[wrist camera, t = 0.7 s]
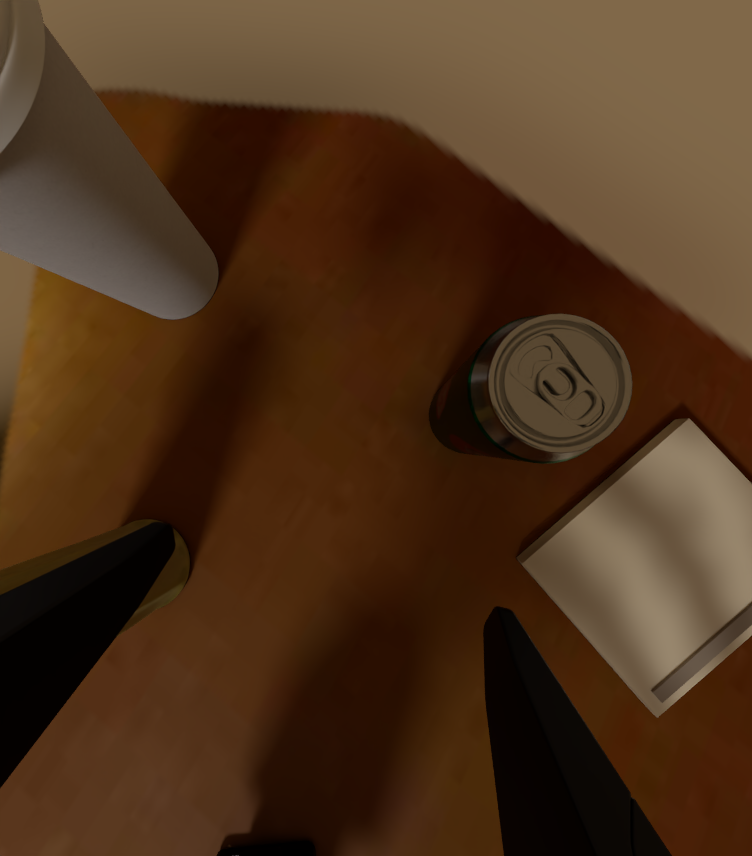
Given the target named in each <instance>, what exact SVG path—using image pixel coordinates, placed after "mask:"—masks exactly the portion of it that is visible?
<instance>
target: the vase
mask: <svg viewBox="0 0 752 856" xmlns="http://www.w3.org/2000/svg"><path fill="white" fill-rule="evenodd" d="M157 521H158V520H151V519H143V520H137V521H133V522H130V523H129V524H127V525H125V526H123V527H120V528H117V529H114V530H111V531H109V532H106V533H103V534H100V535H98V536H95V537H92V538H90V539H87V540H84V541H82V542H79V543H76V544H73V545H70V546H67V547H64V548H61V549H58V550H56V551H53V552H50V553H47V554H44V555H41V556H38V557H35V558H33V559H30V560H27V561H24V562H21V563H19V564H16V565H13V566H10V567H7V568H5V569H2V570H0V595H1V594H3V593H5V592H8V591H10V590H12V589H14V588H16V587H18V586H20V585H22V584H24V583H26V582H29V581H31V580H33V579H35V578H37V577H39V576H41V575H43V574H45V573H48V572H50V571H52V570H54V569H56V568H58V567H60V566H62V565H64V564H66V563H69V562H71V561H73V560H75V559H77V558H79V557H81V556H83V555H85V554H87V553H90V552H92V551H94V550H96V549H98V548H100V547H102V546H104V545H106V544H109V543H111V542H113V541H115V540H117V539H119V538H121V537H123V536H125V535H127V534H130V533H132V532H134V531H136V530H138V529H140V528H142V527H144V526H146V525H148V524H151V523H153V522H157ZM158 522H161V521H158ZM163 523H164V522H163ZM173 532H174V537H175V543H176V546H175V550H174V552H173V554H172V556H171V557H170V559H169V561H168V562H167V564H166V565H165V567H164V568H163V570H162V572H161V573H160V575H159V576H158V578H157V579H156V581H155V583H154V584H153V586H152V587H151V589H150V590H149V592H148V594H147V595H146V597H145V598H144V600H143V601H142V603H141V604H140V606H139V607H138V609H137V610H136V611H135V613H134V614H133V615H132V617H131V618H130V619H129V621H128V622H127V623H126V625H125V626H124V627H123V629H122V630H121V631H120V633H119V634H118V635H120V634H121V633H123V632H124V631H126V630H128V629H129V628H131V627H132V626H134V625H135V624H136V623H138V622H139V621H141V620H142V619H143V618H145V617H146V616H148V615H149V614H150V613H152V612H153V611H154V610H156V609H158V608H160V607H163V606H165V605H167V604H168V603H169V602H171V601H172V600H173V599H174V598H175V597H176V596H177V595H178V594H179V593H180V592H181V590H182V589H183V587H184V585H185V583H186V581H187V579H188V575H189V569H190V557H189V552H188V548H187V546H186V543H185V541H184V540H183V538H182V537H181V535H180V534H179V533H178V532H177V531H176V530H175V529H174V528H173ZM118 635H117V636H118ZM117 636H116V637H117Z"/></svg>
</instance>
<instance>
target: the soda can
mask: <svg viewBox="0 0 752 856" xmlns="http://www.w3.org/2000/svg"><path fill="white" fill-rule="evenodd" d="M631 394H632V375H631V370H630V366H629V362H628V360H627V358H626V355H625V353H624V351H623V350H622V348H621V347H620V345H619V343H618V342H617V341H616V340H615V339H614V338H613V337H612V335H611V334H609V333H608V332H607V331H606V330H605V329H603V328H602V327H601V326H599V325H597V324H596V323H594V322H592V321H590V320H587V319H585V318H582V317H579V316H575V315H569V314H549V315H541V316H530V317H525V318H520V319H518V320H515V321H512V322H510V323H508V324H506V325H504V326H503V327H501V328H499V329H498V330H497V331H495V332H494V333H493V334H491V335H490V336H489V337H488V338H487V339H486V341H485V342H484V343H483V344H482V345H481V346H480V347H479V348H478V349H477V350H476V351H475V352H474V353H473V354H472V355H471V356H470V357H469V359H468V360H467V361H466V362H465V363H464V364H463V365H462V366H461V367H460V368H459V369H458V370H457V371H456V372H455V373H454V374H453V375H452V377H451V378H450V379H449V380H448V381H447V382H446V383H445V384H444V385H443V386H442V387H441V388H440V389H439V390H438V391H437V393H436V394H435V396H434V397H433V400H432V402H431V405H430V409H429V421H430V426H431V429H432V431H433V433H434V435H435V437H436V438H437V439H438V440H439V442H441V443H442V444H443V445H444V446H445V447H447V448H448V449H450V450H453V451H455V452H458V453H464V454H472V455H479V456H487V457H494V458H502V459H509V460H517V461H524V462H532V463H541V464H544V463H557V462H562V461H567V460H569V459H572V458H575V457H577V456H579V455H581V454H583V453H585V452H586V451H588V450H589V449H590V448H592V447H593V446H594V445H596V444H597V443H599V442H601V441H603V440H604V439H605V438H606V437H608V436H609V435H610V434H611V433H612V432H613V431H614V430H615V429H616V428H617V427H618V425H619V424H620V422H621V421H622V419H623V418H624V416H625V414H626V411H627V409H628V407H629V403H630V399H631Z"/></svg>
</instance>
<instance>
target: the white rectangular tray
mask: <svg viewBox="0 0 752 856" xmlns="http://www.w3.org/2000/svg"><path fill="white" fill-rule="evenodd" d="M516 559H517V560H518V561H519V562H520V563H521V565H522V566H523V567H524V568H525V569H526V570H527V571H528V573H529V574H530V575H531V576H532V577H533V578H534V579H535V581H536V582H537V583H538V584H539V585H540V586H541V587H542V589H543V590H544V591H545V592H546V593H547V594H548V595H549V596H550V598H551V599H552V600H553V601H554V602H555V603H556V604H557V606H558V607H559V608H560V609H561V610H562V611H563V612H564V614H565V615H566V616H567V617H568V618H569V619H570V620H571V622H572V623H573V624H574V625H575V626H576V627H577V628H578V630H579V631H580V632H581V633H582V634H583V635H584V636H585V638H586V639H587V640H588V641H589V642H590V643H591V644H592V646H593V647H594V648H595V649H596V650H597V651H598V652H599V654H600V655H601V656H602V657H603V658H604V659H605V660H606V662H607V663H608V664H609V665H610V666H611V667H612V668H613V670H614V671H615V672H616V673H617V674H618V675H619V676H620V678H621V679H622V680H623V681H624V682H625V683H626V684H627V686H628V687H629V688H630V689H631V690H632V691H633V692H634V694H635V695H636V696H637V697H638V698H639V699H640V700H641V702H642V703H643V704H644V705H645V706H646V707H647V708H648V709H649V710H650V711H651V712H652V713H653V714H654V715H655V716H656V717H657V718H658V717H659V716H660V715H661V714H662V713H663V712H665V711H666V710H667V709H668V708H669V707H670V706H671V705H673V704H674V703H675V702H676V701H677V700H678V699H679V698H681V697H682V696H683V695H684V694H685V693H686V692H687V691H689V690H690V689H691V688H692V687H693V686H694V685H695V684H697V683H698V682H699V681H700V680H701V679H702V678H703V677H705V676H706V675H707V674H708V673H709V672H710V671H711V670H713V669H714V668H715V667H716V666H717V665H718V664H719V663H721V662H722V661H723V660H724V659H725V658H726V657H727V656H729V655H730V654H731V653H732V652H733V651H734V650H735V649H737V648H738V647H739V646H740V645H741V644H742V643H743V642H745V641H746V640H747V639H748V638H749V637H750V636H751V635H752V484H751V483H750V481H749V480H748V479H747V478H746V477H745V476H744V475H743V474H742V473H741V472H740V471H739V470H738V469H737V468H736V467H735V466H734V465H733V464H732V463H731V462H730V461H729V459H728V458H727V457H726V456H725V455H724V454H723V453H722V452H721V451H720V450H719V449H718V448H717V447H716V446H715V445H714V444H713V443H712V442H711V441H710V440H709V438H708V437H707V436H706V435H705V434H704V433H703V432H702V431H701V430H700V429H699V428H698V427H697V426H696V425H695V424H694V423H693V422H692V421H691V420H690V419H689V418H686V419H675V420H674V421H672V422H671V423H670V424H669V425H668V426H667V427H666V428H664V429H663V430H662V431H661V432H660V433H659V434H658V435H656V436H655V437H654V438H653V439H652V440H651V441H650V442H648V443H647V444H646V445H645V446H644V447H643V448H641V449H640V450H639V451H638V452H637V453H636V454H635V455H633V456H632V457H631V458H630V459H629V460H628V461H627V462H625V463H624V464H623V465H622V466H621V467H620V468H619V469H617V470H616V471H615V472H614V473H613V474H612V475H610V476H609V477H608V478H607V479H606V480H605V481H604V482H602V483H601V484H600V485H599V486H598V487H597V488H596V489H594V490H593V491H592V492H591V493H590V494H589V495H588V496H586V497H585V498H584V499H583V500H582V501H581V502H580V503H578V504H577V505H576V506H575V507H574V508H573V509H571V510H570V511H569V512H568V513H567V514H566V515H565V516H563V517H562V518H561V519H560V520H559V521H558V522H557V523H555V524H554V525H553V526H552V527H551V528H550V529H549V530H547V531H546V532H545V533H544V534H543V535H542V536H540V537H539V538H538V539H537V540H536V541H535V542H534V543H532V544H531V545H530V546H529V547H528V548H527V549H526V550H524V551H523V552H522V553H521V554H520V555H519V556H518V557H516Z"/></svg>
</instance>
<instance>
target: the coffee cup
mask: <svg viewBox="0 0 752 856" xmlns="http://www.w3.org/2000/svg"><path fill="white" fill-rule="evenodd" d="M0 250H1V251H4V252H6V253H8V254H11V255H13V256H16V257H18V258H20V259H23V260H25V261H27V262H30V263H32V264H34V265H37V266H39V267H41V268H44V269H46V270H48V271H51V272H53V273H56V274H58V275H60V276H63V277H65V278H67V279H70V280H72V281H74V282H77V283H79V284H81V285H84V286H86V287H89V288H91V289H93V290H96V291H98V292H100V293H103V294H105V295H107V296H110V297H112V298H114V299H117V300H119V301H121V302H124V303H126V304H128V305H131V306H133V307H135V308H138V309H140V310H143V311H145V312H147V313H150V314H152V315H154V316H157V317H160V318H164V319H181V318H185V317H188V316H191V315H193V314H195V313H196V312H198V311H199V310H201V309H202V308H203V307H204V306H205V305H206V304H207V303H208V302H209V300H210V299H211V297H212V296H213V294H214V292H215V289H216V286H217V282H218V264H217V261H216V258H215V255H214V253H213V252H212V250H211V249H210V247H209V246H208V244H207V243H206V242H205V240H204V239H203V238H202V236H201V235H200V234H199V232H198V231H197V230H196V228H195V227H194V226H193V224H192V223H191V222H190V220H189V219H188V218H187V216H186V215H185V214H184V212H183V211H182V210H181V208H180V207H179V206H178V204H177V203H176V202H175V200H174V199H173V197H172V196H171V195H170V193H169V192H168V191H167V189H166V188H165V187H164V185H163V184H162V183H161V181H160V180H159V179H158V177H157V176H156V175H155V173H154V172H153V171H152V169H151V168H150V167H149V165H148V164H147V163H146V161H145V160H144V158H143V157H142V156H141V154H140V153H139V152H138V150H137V149H136V148H135V146H134V145H133V144H132V142H131V141H130V140H129V138H128V137H127V136H126V134H125V133H124V132H123V130H122V129H121V127H120V126H119V125H118V123H117V122H116V121H115V119H114V118H113V117H112V115H111V114H110V113H109V111H108V110H107V109H106V107H105V106H104V105H103V103H102V102H101V100H100V99H99V98H98V96H97V95H96V94H95V92H94V91H93V90H92V88H91V87H90V86H89V84H88V83H87V81H86V80H85V79H84V77H83V76H82V75H81V73H80V72H79V71H78V69H77V68H76V67H75V65H74V64H73V62H72V61H71V60H70V59H69V57H68V56H67V54H66V53H65V52H64V50H63V49H62V47H61V46H60V45H59V43H58V42H57V41H56V39H55V38H54V37H53V35H52V34H51V32H50V31H49V30H48V28H47V27H46V26H45V24H44V23H43V17H42V13H41V9H40V6H39V3H38V0H0Z"/></svg>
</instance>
